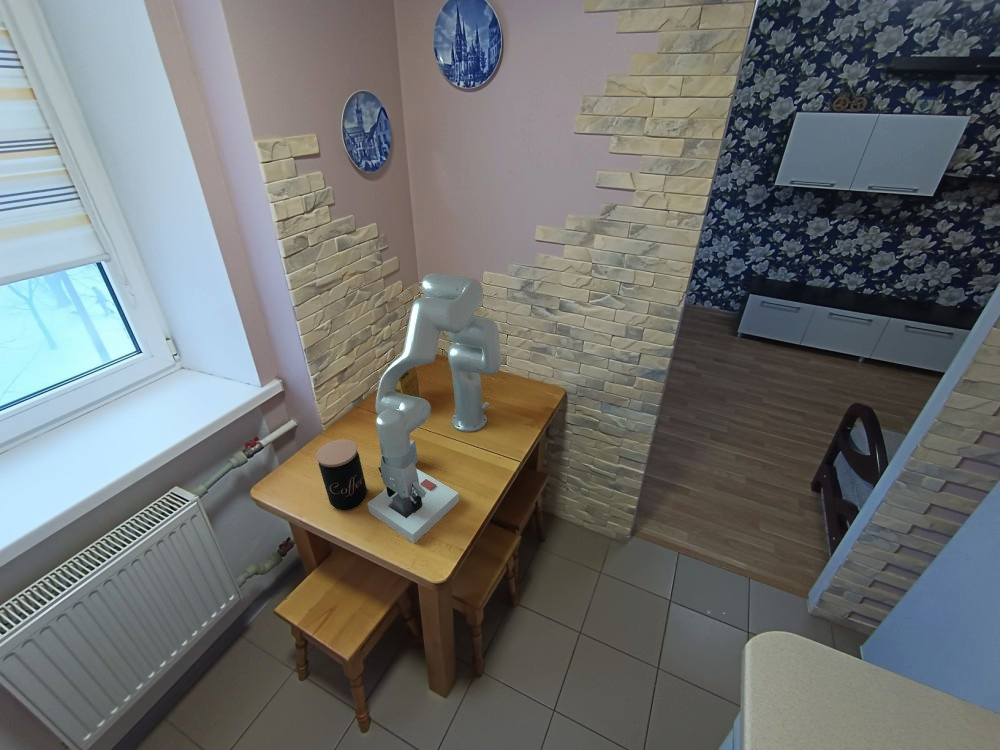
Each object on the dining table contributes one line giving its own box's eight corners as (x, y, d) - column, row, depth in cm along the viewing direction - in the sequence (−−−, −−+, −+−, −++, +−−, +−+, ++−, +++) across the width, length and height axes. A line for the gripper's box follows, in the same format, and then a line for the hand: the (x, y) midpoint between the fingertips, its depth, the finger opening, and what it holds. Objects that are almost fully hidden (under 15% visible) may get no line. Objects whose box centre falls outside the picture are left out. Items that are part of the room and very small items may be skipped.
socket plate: (415, 475, 141) (413, 465, 139) (459, 501, 132) (458, 491, 130) (369, 512, 129) (366, 502, 127) (414, 543, 120) (412, 533, 118)
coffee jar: (332, 517, 128) (318, 469, 118) (328, 491, 136) (314, 444, 127) (370, 505, 131) (360, 457, 122) (364, 480, 140) (354, 434, 130)
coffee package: (384, 414, 169) (374, 363, 157) (402, 397, 178) (394, 347, 167) (407, 420, 165) (399, 368, 154) (424, 402, 175) (418, 352, 164)
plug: (408, 504, 131) (405, 485, 127) (418, 511, 129) (415, 491, 125) (395, 516, 128) (391, 496, 124) (405, 522, 126) (402, 503, 122)
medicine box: (418, 461, 147) (415, 440, 143) (411, 470, 143) (408, 449, 139) (397, 456, 149) (393, 435, 145) (389, 465, 146) (386, 444, 141)
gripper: (363, 449, 119) (373, 495, 128) (409, 476, 110) (417, 525, 119) (385, 434, 124) (393, 480, 133) (431, 459, 115) (437, 507, 124)
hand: (405, 501), depth 126 cm, fingers open, 9 cm apart
